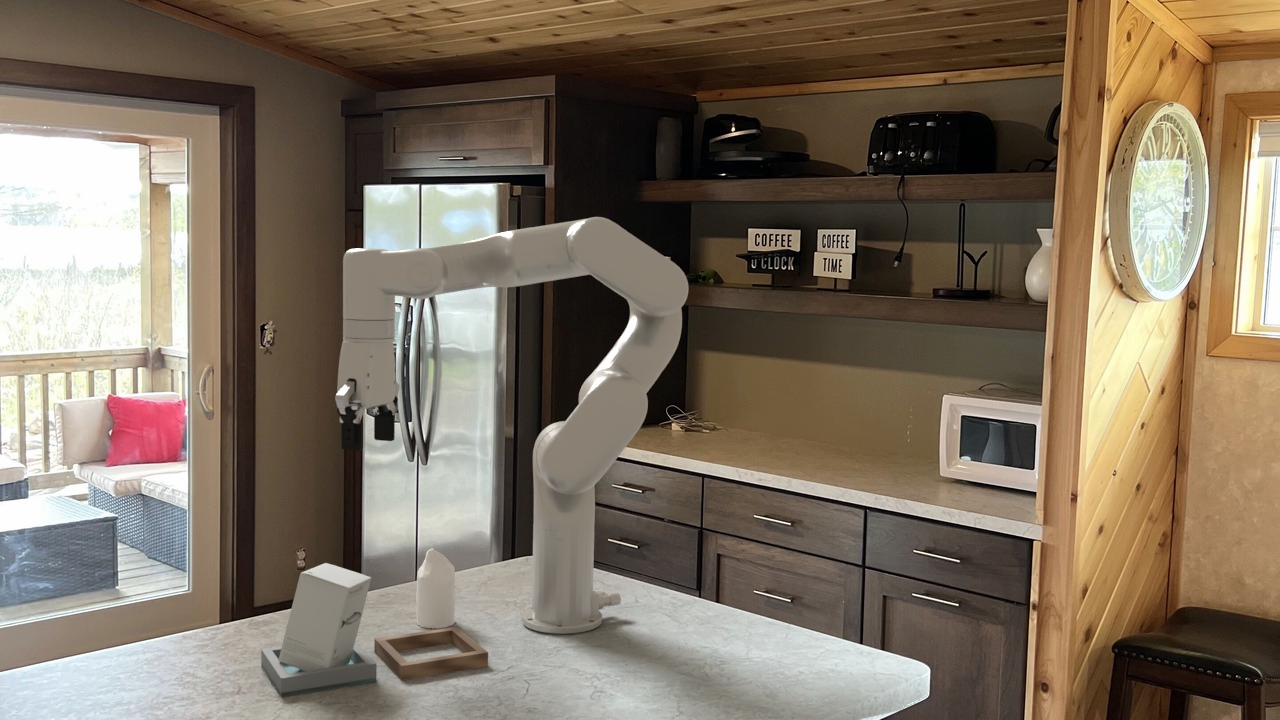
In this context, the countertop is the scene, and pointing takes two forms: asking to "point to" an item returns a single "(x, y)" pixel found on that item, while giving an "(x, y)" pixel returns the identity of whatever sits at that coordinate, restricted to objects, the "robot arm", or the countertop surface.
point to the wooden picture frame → (405, 670)
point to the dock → (317, 673)
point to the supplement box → (324, 618)
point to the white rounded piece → (435, 591)
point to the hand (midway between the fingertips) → (368, 444)
